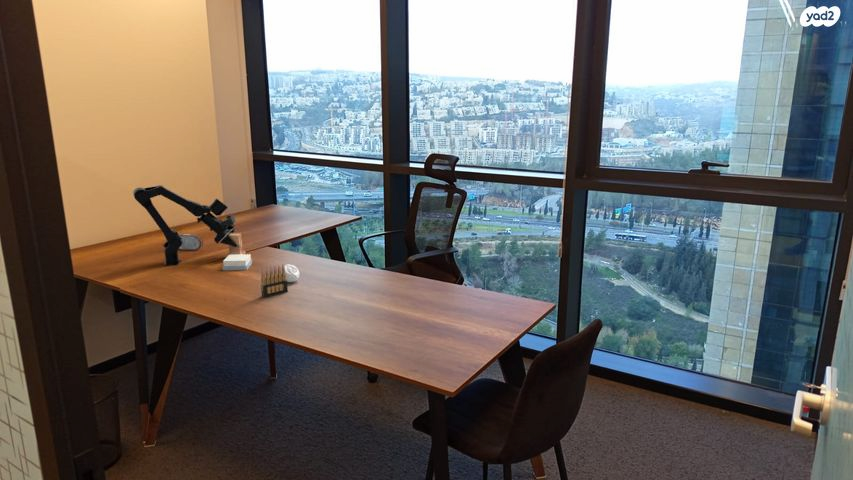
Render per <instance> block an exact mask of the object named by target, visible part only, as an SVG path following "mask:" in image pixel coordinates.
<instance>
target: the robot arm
mask: <svg viewBox="0 0 853 480" xmlns="http://www.w3.org/2000/svg"><path fill="white" fill-rule="evenodd" d="M132 194H133V197H134V199H135V201H136V202H138V204H139V205H141V206H142V207H143V208H144V209H145V210H146V212H147V213H148V214H149V215H150V217H151V218H152V219H153V221H154V222H155V223H156V225H157V226H158V228H159V229H160V231H161V232H162V233H163V236H164V238H165V240H166V241H165V243H163V245H162V248H163V249H164V258H165V259H164V260H165V262H164V263H163V264H162V265H163V266H178V265H179V264H180V263H182V260H181V259H179V252H178V251H179V250H180V249H179V247H181V245H182V241H181V239H182V238H181V236H180V235H178V234H179V233H178V231H177V230H176V228H174V229H173V230H172V228H170V226H169V225H168V223H167V222H166V221H165V219H164V218H163V217H162V215H161V214H160V212H159V211H158V210H157V207H155V205H154V204H153V202H152V198H156V197H157V196H162V197H164V198H166V199H167V200H169V201H171V202H174V203H176V204H178V205H179V206H181V207H183V208H184V209H185V210H187V211H188V212H190V213H191V215H193V216H194V217H196V220H197V224H200V223H201V222H202V223H203V224H204V225H206V227H208V228H209V231H211V232H212V231H213V233H215V234H216V236H215V237H214V238H213V239H214V240H213V241H214V242H215V243H216V244H224V245H227V246H229V245H230V246H233V247H237V244H236V243H235V242H234V241H233V240H232V239H231V238H230V233H236V232H235V227H236V225H235V223H236V222H237V221H236V219H235V218H236V217H235V216H234V215H231V214H229V215H227V216H226V218H225V219H224V220H223V219H219V218H217V216H218V217H221V215H223V214H224V212H225V211H226V210H227V209H228V206H227V205H226V204H225V203H224V202H222V201H221V200H220V199H218V198H215V199H214V201H213V202H212V203H211V204H210V205H207V204H206V205H204V204H201V203H199V202H196V201H193V200H190V199H187V198H185V197H182V196H181V195H179V194H177V193H175V192H174V191H172V190H170V189H168V188H166V187H164V186H163V185H162V184H160V185H156V186H148V187H135V189H133V192H132Z"/></svg>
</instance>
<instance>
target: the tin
mask: <svg viewBox="0 0 853 480" xmlns="http://www.w3.org/2000/svg"><path fill="white" fill-rule="evenodd" d="M178 235H180V236H181V238H182V239H181V241H182V245H181V247H179V249H178V250H182V251H197V250H200V249H201V248H202V247H203V245H204V240H203V237H201V236H200V235H199V234H196V233H184V232H183V233H181V232H180V233H178Z"/></svg>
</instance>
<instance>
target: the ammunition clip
mask: <svg viewBox="0 0 853 480" xmlns="http://www.w3.org/2000/svg"><path fill="white" fill-rule="evenodd" d="M284 266H285V265H284V264H282V266H281V265H280V264H278V266H276V265H274V267H272V266H270V267H269V268H268V267H266V268H265V271H264V268H261V274H260V275H261V278H260V280H261V285H260V287H261V289H260V290H261V297H262V298H263V299H265V298H268V297H271V296H276V295H281V294H285V293H288V292H289V290H288V282H287V280H286V273H285V267H284ZM281 270H282V274H281Z"/></svg>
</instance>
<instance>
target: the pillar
mask: <svg viewBox="0 0 853 480" xmlns="http://www.w3.org/2000/svg"><path fill="white" fill-rule="evenodd" d="M230 238H231V239H232V240H233V241H234V242H235V243H236V244H237V247H233V246H230V245H228V251H229V252H228V253H227V255H226V257H227V256H228V255H242V254H246V250H243V242H242V241H243V240H242V232H235V233H230Z"/></svg>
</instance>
